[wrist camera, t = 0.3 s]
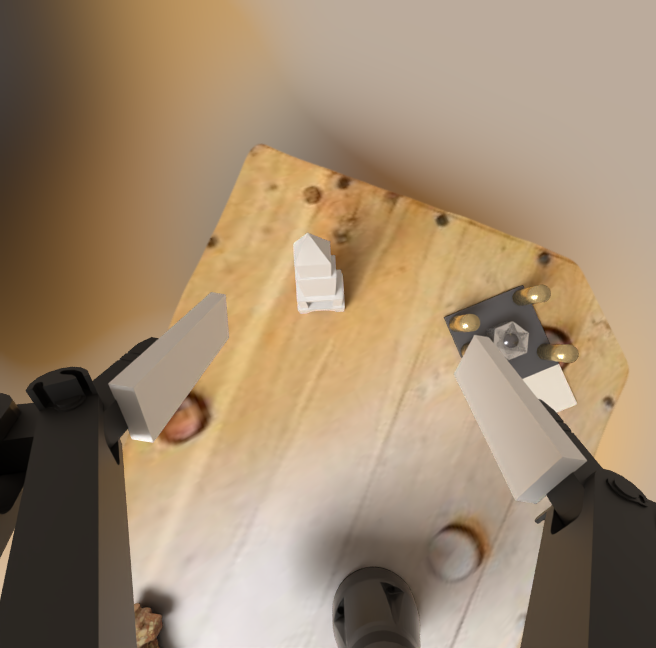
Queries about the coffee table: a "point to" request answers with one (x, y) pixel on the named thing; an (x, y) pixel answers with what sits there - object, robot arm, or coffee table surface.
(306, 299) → the sculpture
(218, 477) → the coffee table surface
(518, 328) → the nut
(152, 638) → the sculpture
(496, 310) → the mat
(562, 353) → the spacers
